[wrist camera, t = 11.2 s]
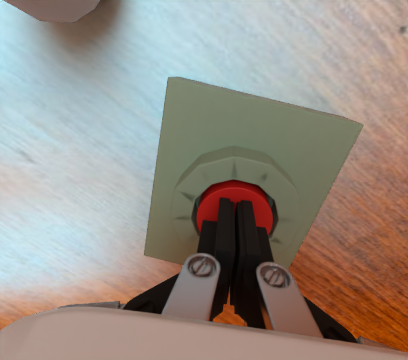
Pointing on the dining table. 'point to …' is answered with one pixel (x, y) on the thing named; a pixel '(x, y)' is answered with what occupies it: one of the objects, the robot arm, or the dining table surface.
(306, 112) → the button box
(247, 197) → the button
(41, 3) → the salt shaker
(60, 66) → the dining table surface
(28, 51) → the dining table surface
